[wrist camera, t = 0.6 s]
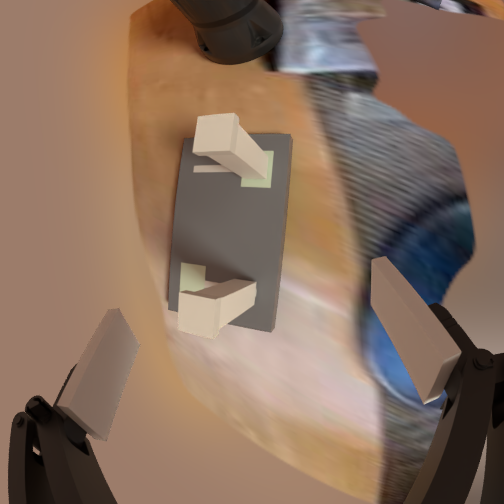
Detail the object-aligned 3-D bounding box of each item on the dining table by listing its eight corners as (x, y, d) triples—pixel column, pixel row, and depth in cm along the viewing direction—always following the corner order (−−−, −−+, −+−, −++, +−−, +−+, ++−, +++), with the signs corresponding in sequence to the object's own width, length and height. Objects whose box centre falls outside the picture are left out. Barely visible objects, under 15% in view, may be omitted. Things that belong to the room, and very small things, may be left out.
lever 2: (232, 276, 35) (179, 292, 23) (259, 280, 34) (215, 299, 22) (230, 302, 36) (177, 329, 24) (256, 307, 35) (212, 339, 23)
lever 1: (244, 154, 34) (198, 116, 22) (270, 154, 33) (234, 112, 21) (241, 180, 35) (192, 152, 23) (268, 181, 34) (229, 150, 22)
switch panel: (190, 142, 40) (184, 138, 38) (292, 139, 35) (290, 133, 33) (175, 306, 41) (167, 309, 39) (274, 328, 37) (270, 332, 35)
